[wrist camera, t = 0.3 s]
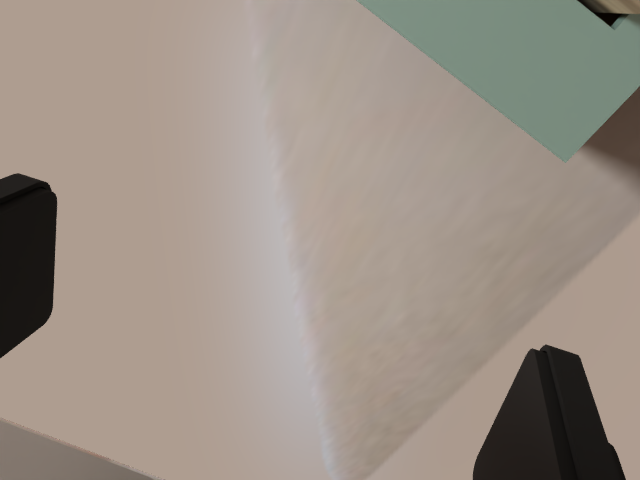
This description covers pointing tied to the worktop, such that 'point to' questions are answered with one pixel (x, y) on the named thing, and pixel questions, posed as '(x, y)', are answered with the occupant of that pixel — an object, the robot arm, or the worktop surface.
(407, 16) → the lid
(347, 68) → the worktop surface
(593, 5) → the block
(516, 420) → the robot arm
